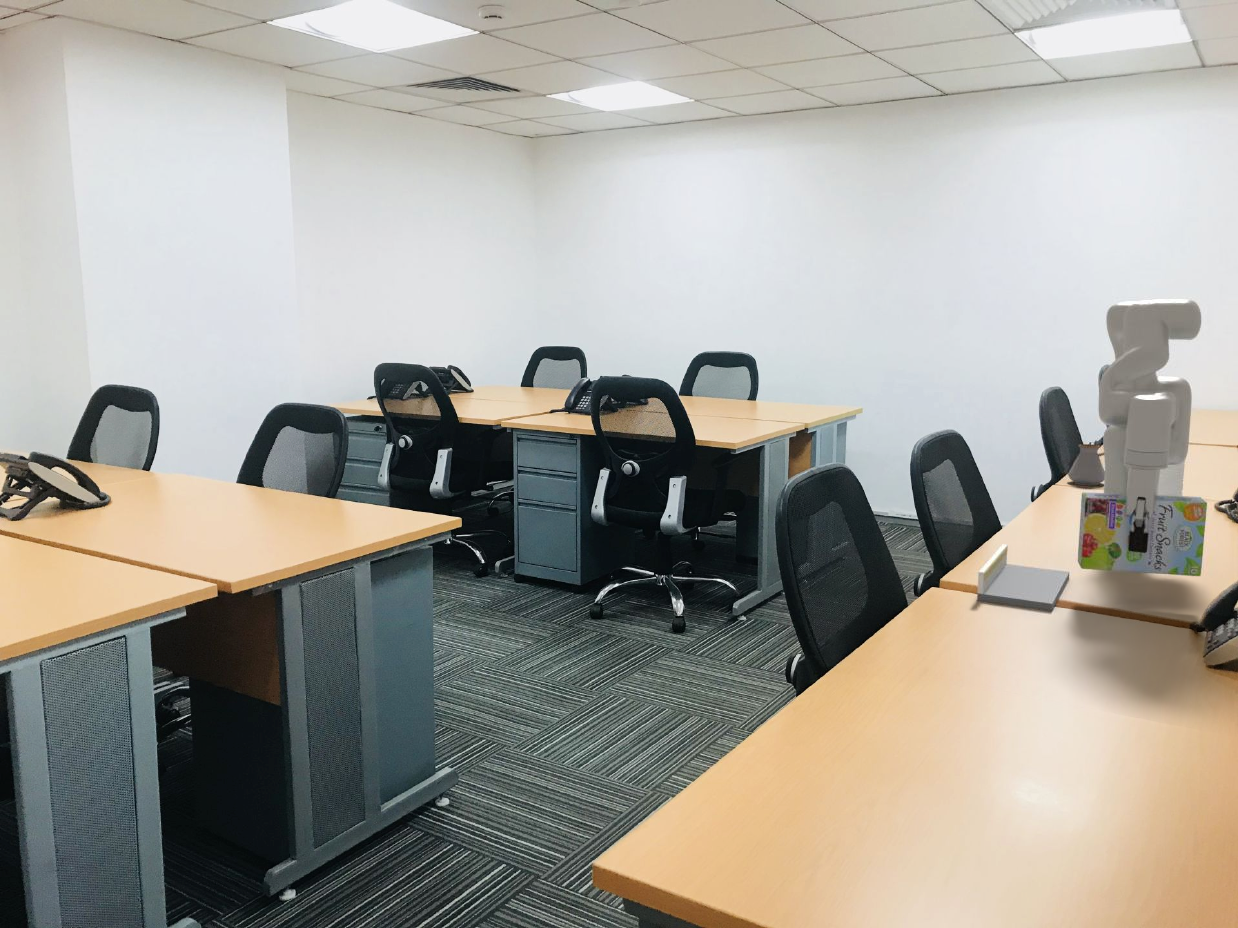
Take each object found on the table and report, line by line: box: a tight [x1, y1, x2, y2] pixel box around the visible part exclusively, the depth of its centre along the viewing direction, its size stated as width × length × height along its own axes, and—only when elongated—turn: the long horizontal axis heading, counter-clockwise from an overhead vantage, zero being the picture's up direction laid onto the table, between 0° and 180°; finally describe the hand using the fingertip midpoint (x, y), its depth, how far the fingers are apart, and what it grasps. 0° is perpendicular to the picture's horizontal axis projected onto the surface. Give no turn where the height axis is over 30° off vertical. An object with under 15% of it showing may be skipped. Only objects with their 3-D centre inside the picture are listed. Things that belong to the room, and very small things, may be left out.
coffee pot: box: [1067, 443, 1105, 486], centre depth 311 cm, size 21×12×15 cm, turn 56°
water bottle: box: [1158, 459, 1186, 496], centre depth 250 cm, size 9×6×25 cm
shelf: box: [976, 543, 1071, 612], centre depth 199 cm, size 26×14×6 cm, turn 148°
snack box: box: [1077, 492, 1208, 577], centre depth 187 cm, size 21×6×15 cm, turn 71°
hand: (1138, 546), depth 187 cm, fingers closed on snack box, 6 cm apart
